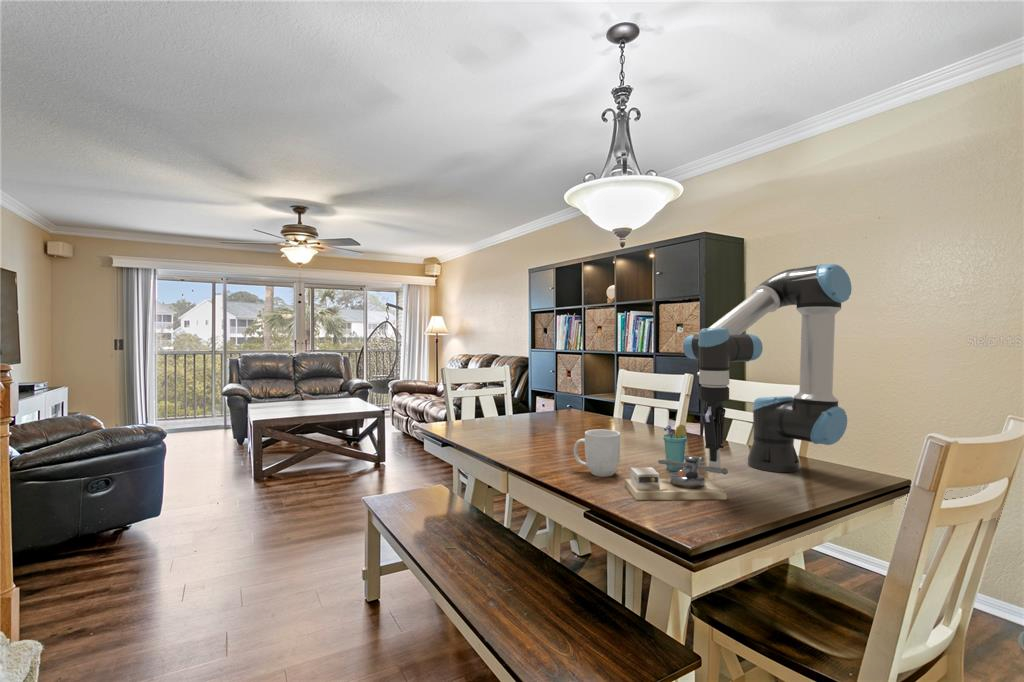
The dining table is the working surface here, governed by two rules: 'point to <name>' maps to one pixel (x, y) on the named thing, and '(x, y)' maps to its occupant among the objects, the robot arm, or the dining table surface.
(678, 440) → the teal pot with plants
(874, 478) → the dining table surface
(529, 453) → the dining table surface
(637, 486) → the stand
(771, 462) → the robot arm
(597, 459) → the mug
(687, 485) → the capstan
